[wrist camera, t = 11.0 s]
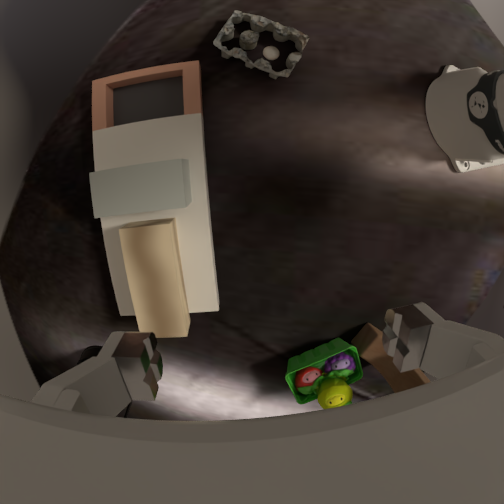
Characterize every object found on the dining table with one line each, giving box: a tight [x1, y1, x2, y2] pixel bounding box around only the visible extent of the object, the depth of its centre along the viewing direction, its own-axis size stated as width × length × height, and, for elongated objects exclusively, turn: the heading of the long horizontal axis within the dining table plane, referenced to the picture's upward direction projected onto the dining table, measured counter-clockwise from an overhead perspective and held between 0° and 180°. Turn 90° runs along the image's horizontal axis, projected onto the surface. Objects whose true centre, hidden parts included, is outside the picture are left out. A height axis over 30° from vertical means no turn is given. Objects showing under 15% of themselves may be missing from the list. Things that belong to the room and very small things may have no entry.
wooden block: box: [351, 323, 430, 393], centre depth 38 cm, size 9×4×18 cm, turn 54°
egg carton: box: [213, 10, 309, 79], centre depth 31 cm, size 11×8×4 cm
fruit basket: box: [285, 338, 363, 409], centre depth 41 cm, size 11×9×11 cm
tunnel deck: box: [89, 60, 219, 316], centre depth 33 cm, size 14×32×8 cm, turn 4°
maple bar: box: [119, 217, 190, 338], centre depth 35 cm, size 6×14×4 cm, turn 4°
